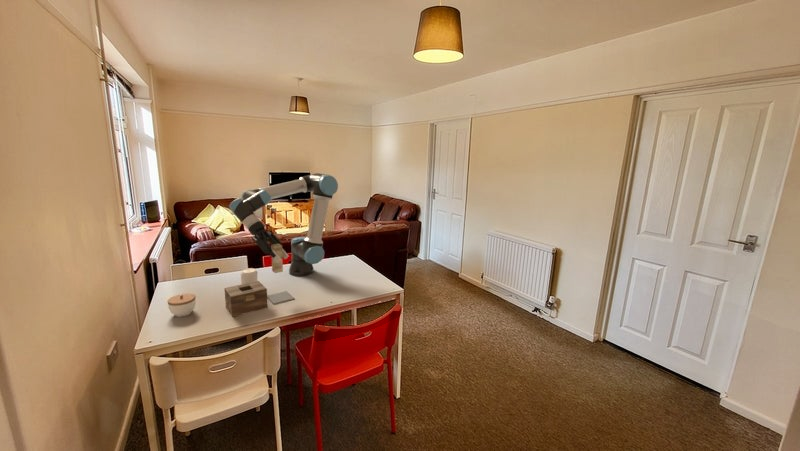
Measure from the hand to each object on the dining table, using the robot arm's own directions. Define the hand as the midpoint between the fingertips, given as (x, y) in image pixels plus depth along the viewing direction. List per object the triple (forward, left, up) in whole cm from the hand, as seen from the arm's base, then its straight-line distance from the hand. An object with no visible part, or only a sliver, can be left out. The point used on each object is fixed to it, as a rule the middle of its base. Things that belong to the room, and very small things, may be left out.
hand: (283, 259), depth 164 cm
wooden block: (-3, -2, -7) cm, 8 cm away
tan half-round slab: (-21, -11, -22) cm, 33 cm away
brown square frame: (-2, -18, -22) cm, 29 cm away
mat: (-3, -1, -22) cm, 22 cm away
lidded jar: (-12, -43, -22) cm, 50 cm away
